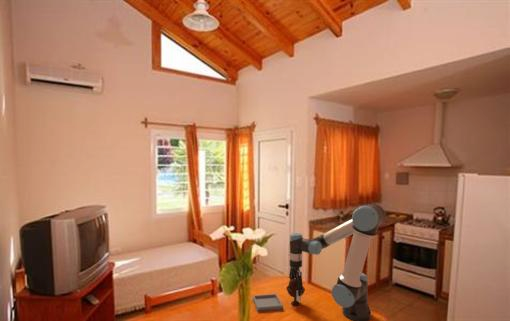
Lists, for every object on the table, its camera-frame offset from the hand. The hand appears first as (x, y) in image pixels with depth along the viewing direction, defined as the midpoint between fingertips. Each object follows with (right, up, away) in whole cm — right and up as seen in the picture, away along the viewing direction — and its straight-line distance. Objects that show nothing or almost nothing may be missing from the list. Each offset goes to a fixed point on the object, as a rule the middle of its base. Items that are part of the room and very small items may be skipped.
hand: (295, 296), depth 164 cm
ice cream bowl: (0, -5, 0) cm, 5 cm away
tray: (-17, -4, -1) cm, 18 cm away
